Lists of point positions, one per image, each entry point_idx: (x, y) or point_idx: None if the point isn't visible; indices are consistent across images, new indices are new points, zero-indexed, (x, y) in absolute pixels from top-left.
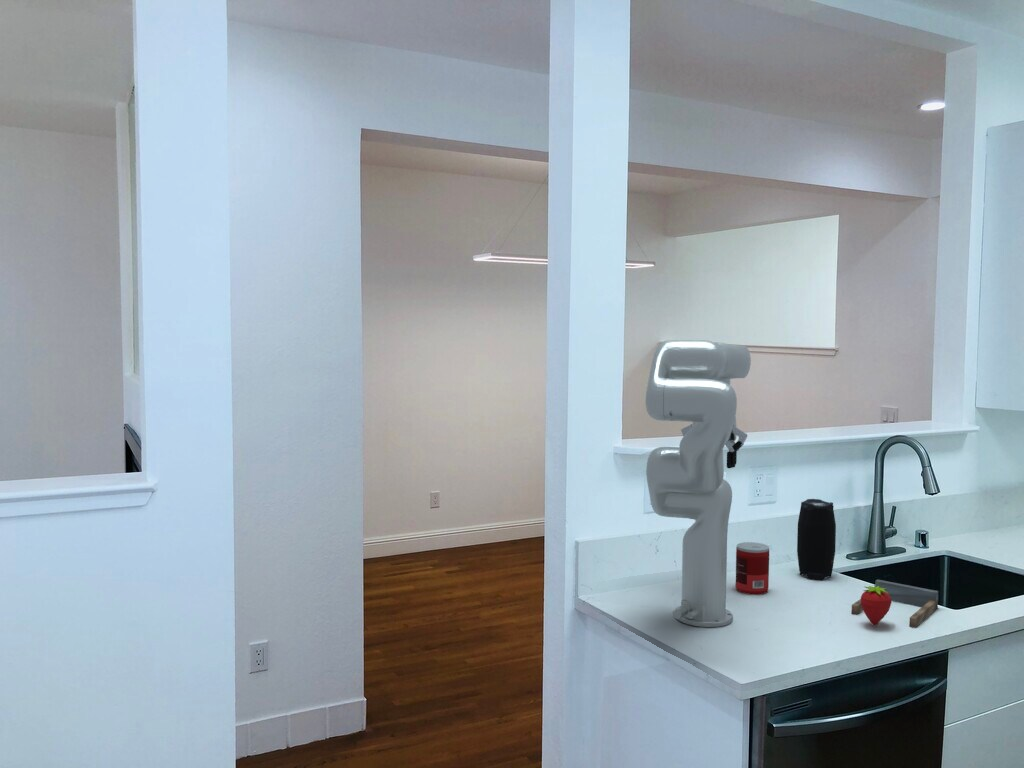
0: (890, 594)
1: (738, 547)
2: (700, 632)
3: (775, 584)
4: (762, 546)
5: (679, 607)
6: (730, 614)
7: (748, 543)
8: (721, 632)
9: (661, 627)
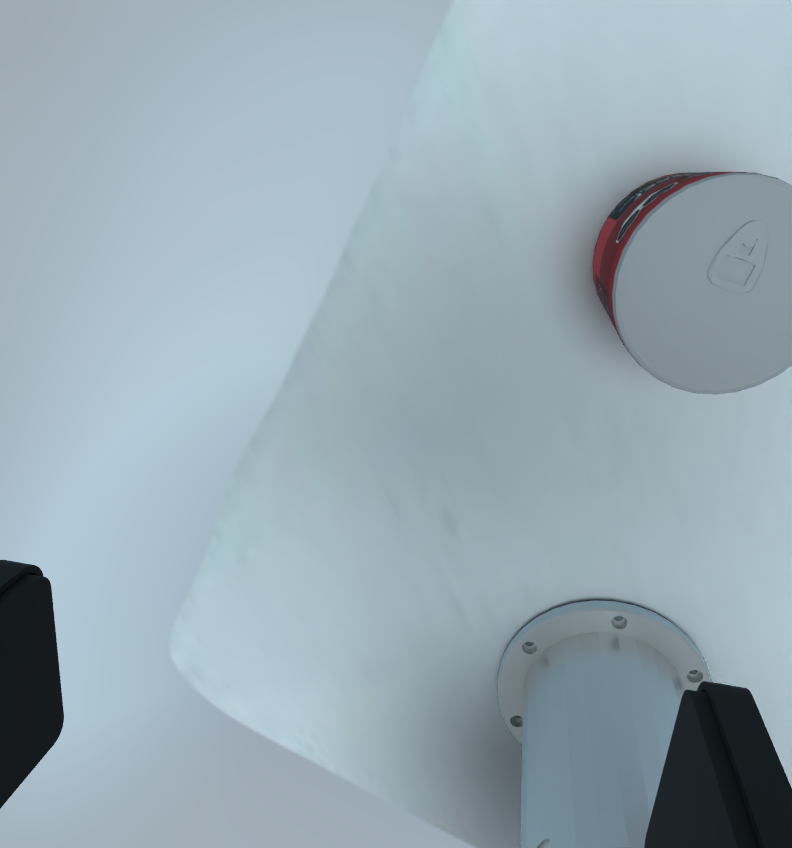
0: None
1: (644, 368)
2: None
3: (760, 74)
4: (780, 224)
5: (506, 689)
6: (698, 670)
7: (674, 221)
8: None
9: (514, 810)
